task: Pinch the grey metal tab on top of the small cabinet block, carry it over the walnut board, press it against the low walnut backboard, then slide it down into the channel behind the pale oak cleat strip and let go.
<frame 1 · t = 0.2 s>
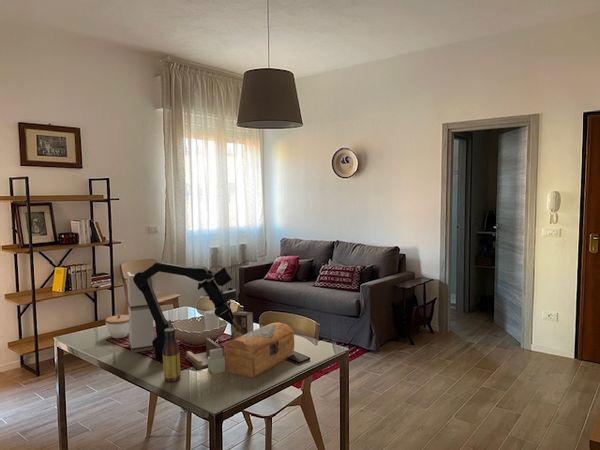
hand: (233, 321, 200), 15 cm above the table, tool tilted 30°, fingers open, 9 cm apart
sauce bottle: (172, 379, 175), on the table
wooden box: (261, 363, 191), on the table
cabinet block: (216, 370, 184), on the table
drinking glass: (212, 343, 217), on the table
stacked white boxes: (143, 347, 212), on the table
lidded bowl: (119, 336, 229), on the table
coffee box: (242, 347, 211), on the table
cleat board: (205, 360, 194), on the table
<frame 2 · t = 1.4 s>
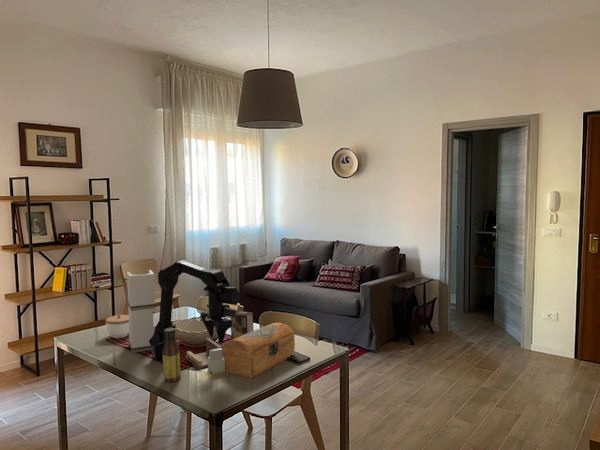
hand: (216, 340, 183), 12 cm above the table, tool pointing down, fingers open, 9 cm apart
nothing on the table moved.
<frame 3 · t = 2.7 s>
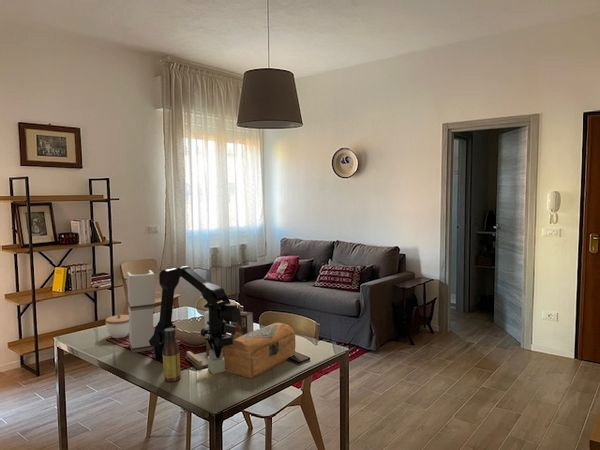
hand: (216, 357, 183), 5 cm above the table, tool pointing down, fingers closed on cabinet block, 2 cm apart
cabinet block: (216, 370, 184), on the table, touching gripper
everything else where it was.
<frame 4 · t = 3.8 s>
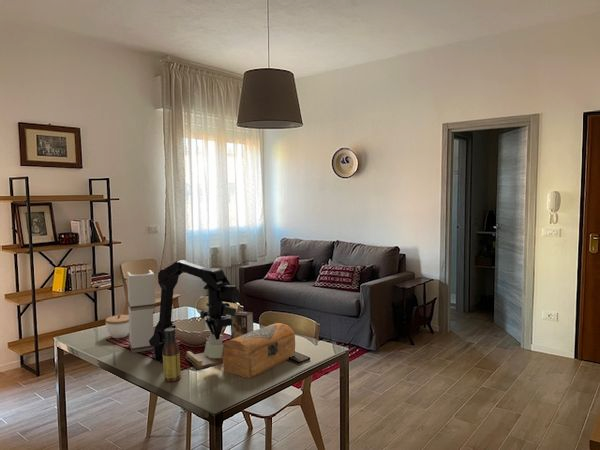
hand: (216, 338, 183), 13 cm above the table, tool pointing down, fingers closed on cabinet block
cabinet block: (212, 355, 182), point 6 cm above the table, tilted 13°, touching gripper
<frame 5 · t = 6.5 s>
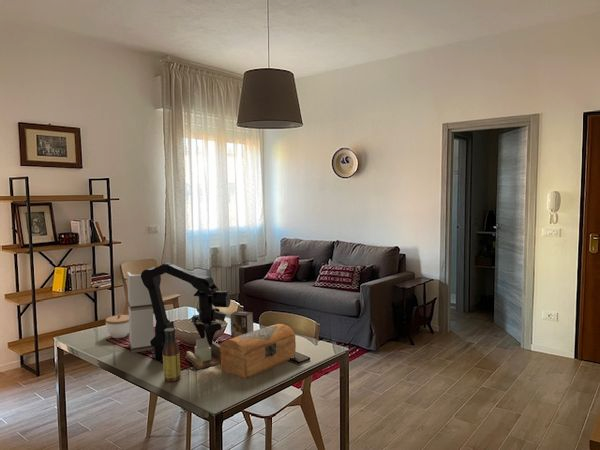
hand: (206, 342, 194), 8 cm above the table, tool pointing down, fingers open, 8 cm apart
cabinet block: (203, 358, 194), point 1 cm above the table, touching cleat board
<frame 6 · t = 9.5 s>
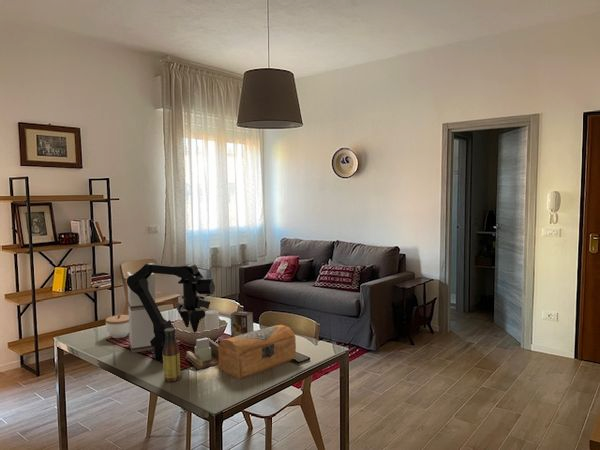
hand: (191, 329, 195), 13 cm above the table, tool pointing down, fingers open, 9 cm apart
at the end: cabinet block inside the target area on the cleat board (0.8 cm from its centre), point 1.0 cm above the cleat board's base; cabinet block tilted 0°; the gripper is holding nothing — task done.
